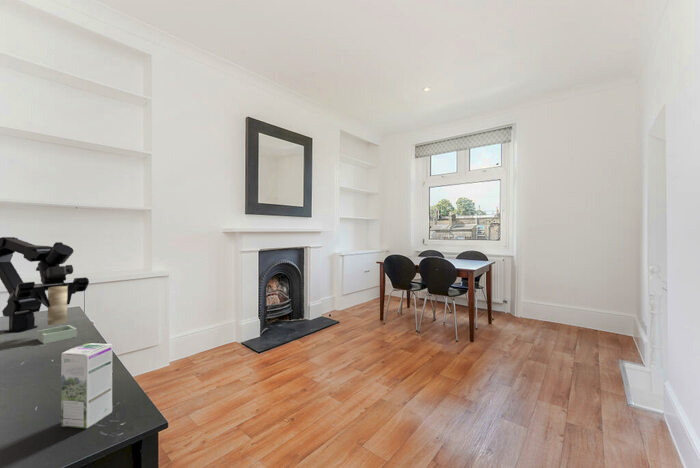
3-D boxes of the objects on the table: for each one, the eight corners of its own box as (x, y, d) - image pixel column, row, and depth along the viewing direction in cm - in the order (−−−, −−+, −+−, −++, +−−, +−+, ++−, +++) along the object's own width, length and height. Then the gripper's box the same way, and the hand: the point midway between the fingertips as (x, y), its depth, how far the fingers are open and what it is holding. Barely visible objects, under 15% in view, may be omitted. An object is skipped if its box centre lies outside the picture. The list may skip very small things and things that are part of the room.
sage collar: (37, 339, 105) (37, 330, 105) (69, 332, 112) (69, 324, 112) (43, 343, 100) (43, 335, 101) (76, 336, 108) (77, 328, 108)
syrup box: (113, 411, 61) (114, 342, 62) (85, 430, 56) (86, 353, 56) (88, 410, 62) (90, 341, 62) (58, 428, 56) (59, 352, 56)
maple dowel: (43, 325, 104) (44, 288, 104) (56, 320, 109) (57, 285, 109) (57, 324, 104) (58, 288, 104) (70, 320, 109) (71, 285, 109)
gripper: (17, 259, 101) (24, 295, 95) (87, 257, 117) (97, 287, 111) (12, 280, 105) (18, 316, 99) (80, 275, 121) (89, 305, 115)
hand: (58, 305), depth 106 cm, fingers closed on maple dowel, 5 cm apart
